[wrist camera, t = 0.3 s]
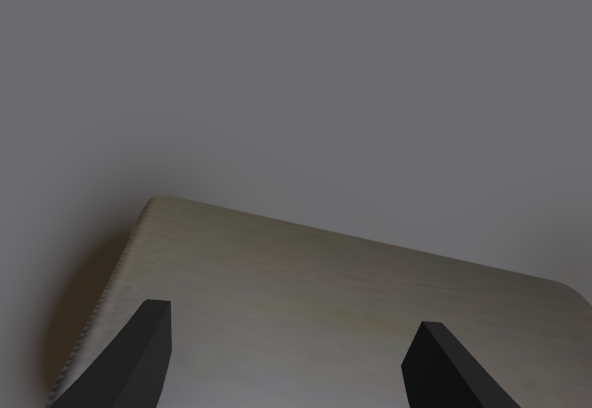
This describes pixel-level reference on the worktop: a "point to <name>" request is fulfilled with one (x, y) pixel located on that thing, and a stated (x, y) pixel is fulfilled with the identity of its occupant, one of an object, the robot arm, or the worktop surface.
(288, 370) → the worktop surface
